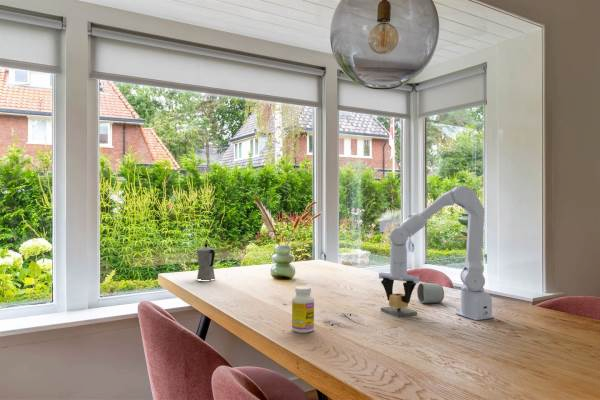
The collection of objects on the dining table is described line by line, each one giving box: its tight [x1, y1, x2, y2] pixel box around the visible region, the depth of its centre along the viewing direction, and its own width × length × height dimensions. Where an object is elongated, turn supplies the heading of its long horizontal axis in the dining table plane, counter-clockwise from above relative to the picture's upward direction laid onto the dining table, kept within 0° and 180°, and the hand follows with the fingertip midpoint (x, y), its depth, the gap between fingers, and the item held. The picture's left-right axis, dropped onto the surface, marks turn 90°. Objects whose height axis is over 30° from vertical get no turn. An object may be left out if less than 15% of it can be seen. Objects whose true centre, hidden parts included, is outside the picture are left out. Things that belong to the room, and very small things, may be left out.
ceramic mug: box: [416, 282, 445, 304], centre depth 172 cm, size 11×8×8 cm
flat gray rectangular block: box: [380, 306, 418, 318], centre depth 156 cm, size 10×8×4 cm
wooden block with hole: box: [388, 292, 409, 308], centre depth 156 cm, size 5×5×4 cm
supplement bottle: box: [291, 285, 315, 334], centre depth 135 cm, size 7×7×13 cm
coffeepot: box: [196, 243, 216, 280], centre depth 219 cm, size 15×9×18 cm, turn 37°
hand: (398, 301), depth 156 cm, fingers closed on wooden block with hole, 6 cm apart
